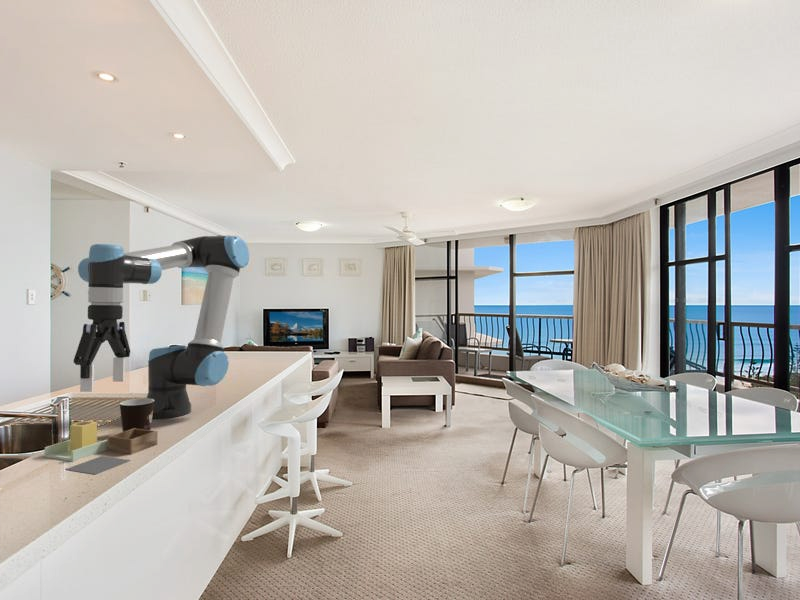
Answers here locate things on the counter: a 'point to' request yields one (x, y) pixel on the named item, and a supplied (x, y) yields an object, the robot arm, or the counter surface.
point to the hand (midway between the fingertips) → (103, 386)
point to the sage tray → (63, 450)
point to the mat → (97, 465)
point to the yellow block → (82, 434)
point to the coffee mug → (136, 413)
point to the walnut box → (132, 441)
